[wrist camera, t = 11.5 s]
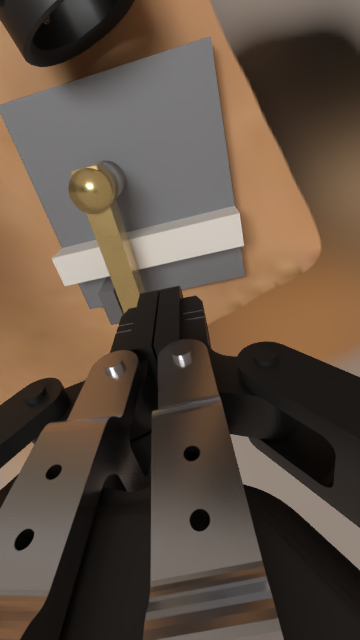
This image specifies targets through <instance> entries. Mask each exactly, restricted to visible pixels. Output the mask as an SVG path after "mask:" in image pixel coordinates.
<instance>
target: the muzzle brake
mask: <svg viewBox="0 0 360 640" xmlns="http://www.w3.org/2000/svg"><path fill="white" fill-rule="evenodd" d="M134 1H135V0H0V20H1V22H2V23H3V25H4V26H5V28H6V30H7V31H8V33H9V34H10V36H11V38H12V39H13V41H14V42H15V44H16V46H17V47H18V49H19V50H20V52H21V54H22V55H23V57H24V58H25V60H26V62H28V63H29V64H31V65H34V66H38V67H48V66H53V65H57V64H60V63H63V62H65V61H67V60H69V59H72V58H73V57H75V56H77V55H79V54H81V53H82V52H84V51H85V50H87V49H88V48H90V47H91V46H92V45H94V44H95V43H96V42H97V41H99V40H100V39H101V38H103V37H104V36H105V35H106V34H108V33H109V32H110V31H111V30H112V29H113V28H114V27H115V26H116V25H117V24H118V23H119V22H120V20H121V19H122V18H123V17H124V16H125V14H126V13H127V12H128V10H129V9H130V7H131V6H132V4H133V2H134ZM47 17H48V24H44V23H43V22H44V20H45V19H46V18H47Z"/></svg>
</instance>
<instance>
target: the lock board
mask: <svg viewBox="0 0 360 640" xmlns="http://www.w3.org/2000/svg"><path fill="white" fill-rule="evenodd" d="M0 114H1V116H2V118H3V120H4V122H5V125H6V127H7V129H8V131H9V133H10V136H11V138H12V140H13V142H14V144H15V146H16V149H17V151H18V153H19V155H20V157H21V160H22V162H23V164H24V166H25V168H26V170H27V173H28V175H29V177H30V179H31V181H32V184H33V186H34V188H35V190H36V192H37V195H38V197H39V199H40V201H41V203H42V205H43V208H44V210H45V212H46V214H47V216H48V219H49V221H50V223H51V225H52V227H53V229H54V232H55V234H56V236H57V238H58V240H59V243H60V245H61V247H62V249H61V250H60V251H59V252H58V253H57V254H56V255H55V256H54V257H53V258H52V261H53V263H54V265H55V267H56V269H57V271H58V273H59V275H60V277H61V279H62V281H63V284H64V286H68V285H73V284H77V283H78V284H79V286H80V288H81V291H82V293H83V295H84V297H85V299H86V302H87V304H88V306H89V308H90V309H93V308H98V307H104V309H105V311H106V314H107V316H108V318H109V321H110V323H111V325H113V324H118V323H119V322H120V319H121V317H122V316H123V314H124V312H123V309H122V306H121V304H120V301H119V299H118V296H117V293H116V291H115V288H114V285H113V283H112V280H111V277H110V275H109V272H108V269H107V267H106V264H105V261H104V259H103V256H102V253H101V251H100V248H99V246H98V243H97V240H96V238H95V235H94V232H93V230H92V227H91V224H90V222H89V219H88V216H87V214H86V213H85V212H83V211H81V210H80V209H78V208H77V207H76V206H75V205H74V203H73V202H72V200H71V198H70V195H69V190H68V186H69V181H70V179H71V177H72V174H71V171H74V170H77V169H79V168H83V167H86V166H90V165H94V164H98V163H101V162H104V165H105V167H107V168H108V169H109V170H110V171H112V173H113V174H114V175H115V177H116V179H117V182H118V195H117V197H116V202H117V205H118V208H119V211H120V214H121V217H122V221H123V224H124V227H125V230H126V233H127V236H128V239H129V242H130V246H131V249H132V252H133V255H134V258H135V261H136V264H137V267H138V270H139V274H140V277H141V280H142V283H143V286H144V289H145V292H150V291H155V290H161V289H165V288H170V287H175V286H180V287H181V290H183V289H187V288H192V287H197V286H201V285H206V284H211V283H215V282H220V281H225V280H230V279H234V278H239V277H244V276H245V273H244V266H243V259H242V252H241V246H244V242H243V234H242V227H241V220H240V213H239V211H238V210H237V208H236V207H235V203H234V196H233V189H232V182H231V175H230V168H229V161H228V154H227V147H226V140H225V133H224V126H223V119H222V112H221V105H220V98H219V91H218V84H217V77H216V71H215V64H214V57H213V50H212V43H211V36H210V37H207V38H204V39H201V40H198V41H195V42H192V43H188V44H185V45H182V46H179V47H176V48H173V49H170V50H167V51H164V52H161V53H158V54H155V55H152V56H148V57H145V58H142V59H139V60H136V61H133V62H130V63H127V64H124V65H121V66H118V67H115V68H112V69H108V70H105V71H102V72H99V73H96V74H93V75H90V76H87V77H84V78H81V79H78V80H75V81H72V82H68V83H65V84H62V85H59V86H56V87H53V88H50V89H47V90H44V91H41V92H38V93H35V94H32V95H28V96H25V97H22V98H19V99H16V100H13V101H10V102H7V103H4V104H1V105H0Z"/></svg>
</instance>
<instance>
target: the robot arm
mask: <svg viewBox="0 0 360 640" xmlns="http://www.w3.org/2000/svg"><path fill="white" fill-rule="evenodd" d="M230 434H234V435H240V436H247V437H249V439H250V441H251V443H252V444H253V445H254V446H255V447H256V448H257V449H259V450H260V451H261V452H263V453H264V454H265V455H266V456H268V457H269V458H270V459H272V460H273V461H274V462H276V463H277V464H278V465H279V466H281V467H282V468H283V469H285V470H286V471H287V472H288V473H290V474H291V475H292V476H294V477H295V478H296V479H297V480H299V481H300V482H301V483H303V484H304V485H305V486H307V487H308V488H309V489H310V490H312V491H313V492H314V493H316V494H317V495H318V496H320V497H321V498H322V499H323V500H325V501H326V502H327V503H329V504H330V505H331V506H332V507H334V508H335V509H336V510H338V511H339V512H340V513H341V514H343V515H344V516H345V517H347V518H348V519H349V520H350V521H352V522H353V523H354V524H356V525H357V526H358V527H360V377H358V376H355V375H353V374H351V373H348V372H346V371H344V370H341V369H339V368H337V367H334V366H332V365H329V364H327V363H325V362H322V361H320V360H317V359H315V358H313V357H311V356H308V355H306V354H304V353H301V352H299V351H296V350H294V349H292V348H289V347H287V346H285V345H282V344H279V343H275V342H258V343H254V344H251V345H249V346H247V347H245V348H244V349H243V350H241V352H240V353H239V354H238V356H237V357H232V356H225V355H221V354H218V353H216V352H214V351H213V350H212V349H211V345H210V338H209V332H208V327H207V322H206V317H205V312H204V307H203V302H202V301H201V300H200V299H199V298H198V297H197V296H191V297H186V298H183V295H182V291H181V287H180V286H175V287H170V288H165V289H161V290H155V291H150V292H145V293H140V295H139V299H138V303H137V307H135V308H129V309H128V310H127V311H126V312H125V313H124V314H123V316H122V317H121V319H120V322H119V327H118V329H117V334H116V335H115V338H114V342H113V345H112V348H111V351H110V353H109V354H107V355H105V356H103V357H102V358H100V359H99V360H98V361H97V362H96V363H95V364H94V365H93V367H92V368H91V370H90V372H89V375H88V377H87V379H86V380H85V381H83V382H80V383H78V384H75V385H73V386H70V387H68V388H65V389H64V387H63V385H62V383H61V382H60V381H59V380H58V379H56V378H45V379H41V380H38V381H36V382H33V383H31V384H30V385H28V386H26V387H25V388H23V389H22V390H21V391H19V392H18V393H17V394H15V395H14V396H12V397H11V398H10V399H8V400H7V401H6V402H4V403H3V404H1V405H0V468H1V467H2V466H4V465H5V464H6V463H7V462H8V461H9V460H11V459H12V458H13V457H14V456H15V455H16V454H17V453H18V452H20V451H21V450H22V449H23V448H25V447H26V446H27V445H28V444H29V443H30V442H33V443H34V447H33V448H32V450H31V452H30V454H29V456H28V458H27V460H26V462H25V463H24V465H23V467H22V469H21V471H20V473H19V474H18V475H17V476H16V477H15V478H14V479H13V480H11V481H10V482H9V483H8V484H7V485H6V486H5V487H4V488H2V489H1V490H0V640H360V570H359V569H358V568H357V567H355V566H354V565H353V564H352V563H351V562H350V561H349V560H348V559H347V558H346V557H345V556H343V555H342V554H341V553H340V552H339V551H338V550H337V549H336V548H335V547H334V546H332V544H330V543H329V542H328V541H327V540H326V539H325V538H324V537H323V536H322V535H321V534H319V533H318V532H317V531H316V530H315V529H314V528H313V527H312V526H311V525H310V524H309V523H308V522H307V521H305V520H304V519H303V518H302V517H301V516H300V515H299V514H298V513H296V512H295V511H294V510H293V509H292V508H291V507H289V506H288V505H287V504H285V503H284V502H282V501H281V500H280V499H278V498H276V497H274V496H272V495H271V494H269V493H267V492H264V491H262V490H259V489H257V488H254V487H251V486H247V485H243V483H242V479H241V475H240V472H239V468H238V464H237V460H236V456H235V452H234V449H233V444H232V440H231V437H230Z"/></svg>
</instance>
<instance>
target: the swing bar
mask: <svg viewBox="0 0 360 640" xmlns="http://www.w3.org/2000/svg"><path fill="white" fill-rule="evenodd" d="M71 174H72V177H71V179H70V181H69V186H68V190H69V195H70V198H71V200H72V202H73V203H74V205H75V206H76V207H77V208H78V209H80V210H81V211H83V212H85V213H86V214H87V216H88V219H89V222H90V224H91V227H92V230H93V232H94V235H95V238H96V240H97V243H98V246H99V248H100V251H101V253H102V256H103V259H104V261H105V264H106V267H107V269H108V272H109V275H110V277H111V280H112V283H113V285H114V288H115V291H116V293H117V296H118V299H119V301H120V304H121V306H122V309H123V312H124V313H125V312H126V311H127V310H128V309H129V308H135V307H137V303H138V299H139V295H140V293H145V289H144V286H143V283H142V280H141V277H140V274H139V270H138V267H137V264H136V261H135V258H134V255H133V252H132V249H131V246H130V242H129V239H128V236H127V233H126V230H125V227H124V224H123V221H122V217H121V214H120V211H119V208H118V205H117V202H116V197H117V195H118V182H117V179H116V177H115V175H114V174H113V173H112V171H110V170H109V169H108V168H107V167H105V165H104V162H101V163H98V164H94V165H90V166H86V167H83V168H79V169H77V170H74V171H71Z"/></svg>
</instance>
